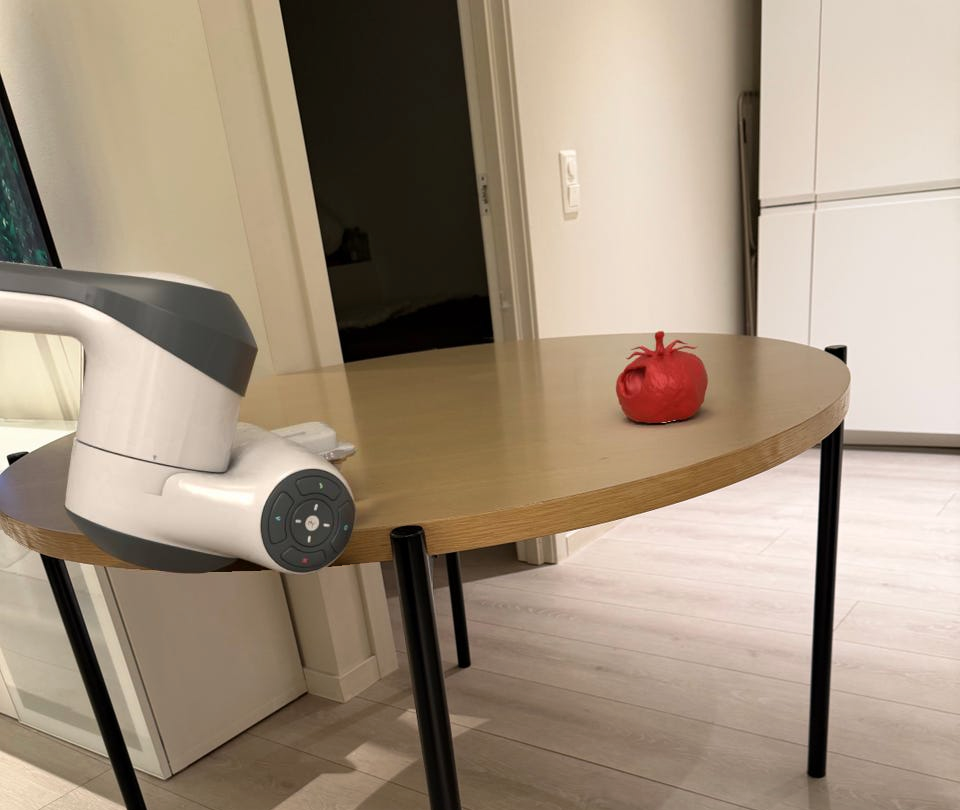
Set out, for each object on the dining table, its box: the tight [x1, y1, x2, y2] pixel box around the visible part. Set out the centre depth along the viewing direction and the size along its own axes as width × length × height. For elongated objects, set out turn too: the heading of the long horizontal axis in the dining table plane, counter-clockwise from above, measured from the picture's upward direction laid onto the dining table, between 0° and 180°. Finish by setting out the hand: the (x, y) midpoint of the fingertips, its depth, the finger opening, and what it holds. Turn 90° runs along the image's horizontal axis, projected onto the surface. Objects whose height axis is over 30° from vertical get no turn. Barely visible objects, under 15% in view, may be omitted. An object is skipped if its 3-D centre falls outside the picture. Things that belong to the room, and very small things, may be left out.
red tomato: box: [615, 330, 709, 424], centre depth 97 cm, size 10×10×9 cm
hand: (202, 454), depth 82 cm, fingers closed
